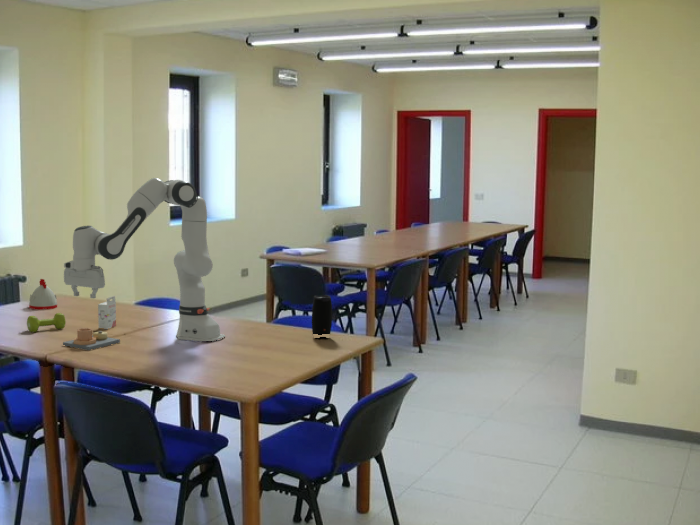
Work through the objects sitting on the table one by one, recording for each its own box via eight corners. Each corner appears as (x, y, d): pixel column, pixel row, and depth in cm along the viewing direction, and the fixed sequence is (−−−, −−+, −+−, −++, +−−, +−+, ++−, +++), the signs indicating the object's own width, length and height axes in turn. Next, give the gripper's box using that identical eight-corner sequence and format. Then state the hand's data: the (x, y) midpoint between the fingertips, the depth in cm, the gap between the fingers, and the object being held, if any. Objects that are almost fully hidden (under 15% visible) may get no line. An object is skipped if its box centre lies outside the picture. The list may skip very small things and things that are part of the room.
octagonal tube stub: (100, 341, 351) (100, 329, 350) (84, 345, 343) (84, 332, 342) (85, 339, 355) (85, 326, 354) (69, 342, 347) (69, 330, 346)
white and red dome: (51, 304, 443) (51, 276, 441) (61, 308, 432) (60, 280, 431) (25, 306, 434) (25, 278, 432) (34, 310, 424) (34, 281, 422)
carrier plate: (119, 342, 357) (119, 328, 356) (89, 350, 341) (89, 335, 340) (94, 338, 364) (94, 323, 363) (62, 345, 348) (62, 330, 347)
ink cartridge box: (106, 325, 393) (106, 294, 391) (116, 326, 392) (116, 295, 390) (97, 328, 384) (97, 297, 382) (107, 329, 383) (107, 298, 382)
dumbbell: (31, 333, 370) (31, 317, 369) (25, 330, 376) (25, 315, 375) (67, 329, 381) (67, 314, 380) (60, 326, 387) (60, 311, 386)
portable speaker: (330, 340, 376) (331, 298, 373) (310, 339, 376) (311, 297, 374) (332, 336, 384) (333, 295, 382) (312, 335, 385) (313, 294, 382)
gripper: (108, 265, 343) (108, 298, 344) (72, 261, 352) (72, 293, 354) (97, 267, 337) (97, 300, 339) (61, 263, 346) (61, 295, 348)
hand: (84, 297), depth 346 cm, fingers open, 8 cm apart
